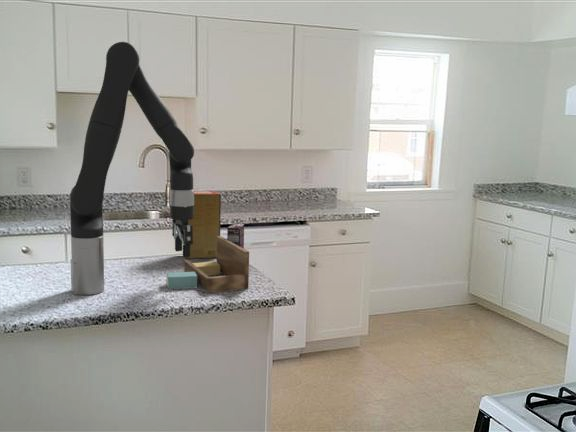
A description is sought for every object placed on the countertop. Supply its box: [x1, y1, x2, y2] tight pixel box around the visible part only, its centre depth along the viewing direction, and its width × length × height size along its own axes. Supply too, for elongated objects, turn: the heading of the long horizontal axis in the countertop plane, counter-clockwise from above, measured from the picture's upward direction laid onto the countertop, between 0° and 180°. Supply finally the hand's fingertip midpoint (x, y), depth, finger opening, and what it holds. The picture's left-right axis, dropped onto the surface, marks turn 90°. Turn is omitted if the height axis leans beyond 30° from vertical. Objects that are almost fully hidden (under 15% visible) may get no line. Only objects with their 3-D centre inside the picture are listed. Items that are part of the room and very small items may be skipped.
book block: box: [166, 271, 198, 290], centre depth 187 cm, size 9×6×4 cm, turn 107°
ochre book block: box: [191, 261, 221, 276], centre depth 203 cm, size 9×6×4 cm, turn 113°
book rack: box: [183, 235, 250, 293], centre depth 194 cm, size 13×26×12 cm, turn 27°
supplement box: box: [226, 223, 245, 249], centre depth 209 cm, size 9×5×16 cm, turn 174°
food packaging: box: [185, 190, 222, 260], centre depth 226 cm, size 13×9×25 cm
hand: (182, 253), depth 185 cm, fingers open, 8 cm apart
